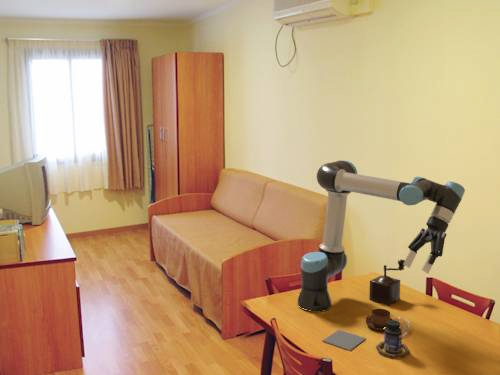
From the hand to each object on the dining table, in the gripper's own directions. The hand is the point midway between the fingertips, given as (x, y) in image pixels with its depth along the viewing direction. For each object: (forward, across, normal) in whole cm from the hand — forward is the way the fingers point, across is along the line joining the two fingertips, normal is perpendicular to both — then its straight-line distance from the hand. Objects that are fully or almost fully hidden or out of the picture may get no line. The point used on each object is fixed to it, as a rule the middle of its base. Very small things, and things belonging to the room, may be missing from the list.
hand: (415, 268), depth 191 cm
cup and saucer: (+26, +15, -6) cm, 31 cm away
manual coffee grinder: (+13, +41, -18) cm, 47 cm away
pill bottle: (+31, -5, -4) cm, 32 cm away
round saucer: (+31, -5, -4) cm, 32 cm away
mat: (+37, +7, +9) cm, 39 cm away
